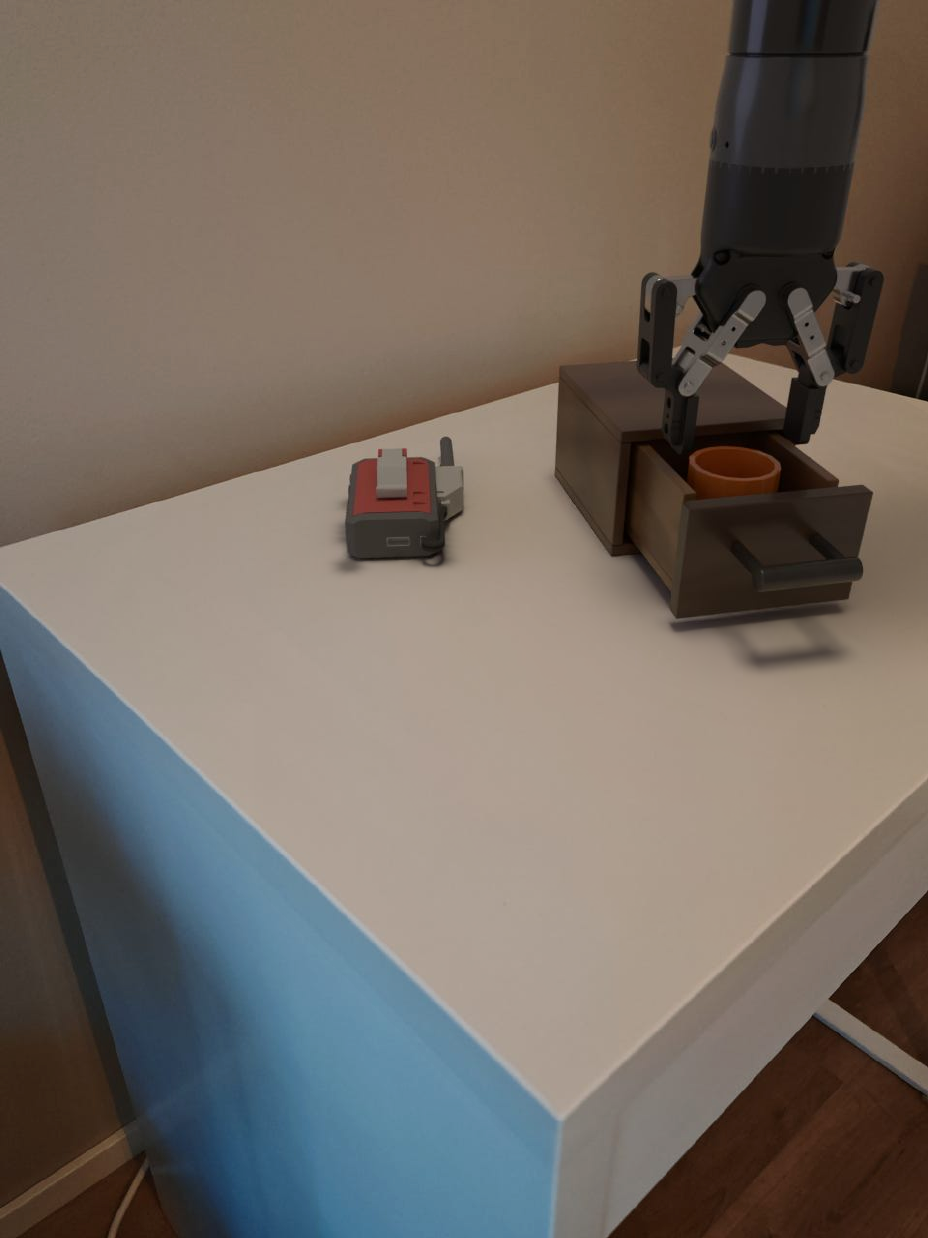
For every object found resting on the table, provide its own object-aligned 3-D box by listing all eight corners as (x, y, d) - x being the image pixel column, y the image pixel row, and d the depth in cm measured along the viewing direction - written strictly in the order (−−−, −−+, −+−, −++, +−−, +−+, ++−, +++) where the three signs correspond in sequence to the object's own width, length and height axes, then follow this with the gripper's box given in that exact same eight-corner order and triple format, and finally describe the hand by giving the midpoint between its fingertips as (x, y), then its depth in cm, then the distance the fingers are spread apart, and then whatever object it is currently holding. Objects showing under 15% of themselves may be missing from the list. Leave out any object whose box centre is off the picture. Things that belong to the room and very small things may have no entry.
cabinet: (779, 539, 69) (801, 417, 64) (611, 556, 67) (621, 431, 62) (698, 462, 81) (712, 354, 77) (554, 474, 79) (559, 365, 75)
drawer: (889, 638, 56) (919, 525, 52) (705, 660, 54) (723, 545, 51) (752, 509, 71) (768, 414, 68) (605, 523, 70) (612, 426, 66)
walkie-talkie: (472, 565, 66) (458, 454, 83) (471, 506, 64) (458, 405, 81) (343, 569, 66) (356, 457, 83) (338, 510, 64) (352, 407, 81)
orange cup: (743, 525, 67) (756, 442, 63) (781, 562, 62) (797, 476, 59) (666, 532, 66) (675, 449, 63) (698, 571, 61) (711, 483, 58)
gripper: (681, 165, 47) (650, 478, 56) (946, 155, 49) (876, 458, 58) (630, 148, 53) (609, 432, 62) (866, 141, 56) (814, 416, 64)
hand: (738, 444), depth 60 cm, fingers open, 7 cm apart
